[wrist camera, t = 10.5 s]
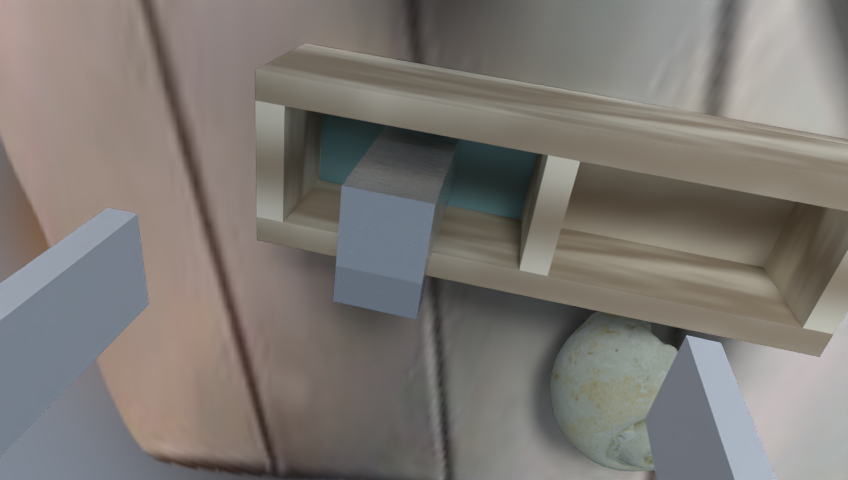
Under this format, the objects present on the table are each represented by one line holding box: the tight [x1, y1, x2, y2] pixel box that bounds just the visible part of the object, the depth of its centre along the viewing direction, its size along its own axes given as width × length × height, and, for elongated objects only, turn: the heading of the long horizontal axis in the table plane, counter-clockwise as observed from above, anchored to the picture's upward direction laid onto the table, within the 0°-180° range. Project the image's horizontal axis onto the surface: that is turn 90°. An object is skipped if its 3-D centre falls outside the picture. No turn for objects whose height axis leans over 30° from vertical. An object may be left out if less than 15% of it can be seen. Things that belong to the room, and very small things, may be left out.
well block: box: [255, 43, 848, 357], centre depth 32 cm, size 10×30×7 cm, turn 82°
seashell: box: [550, 311, 678, 471], centre depth 38 cm, size 13×8×10 cm
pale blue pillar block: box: [333, 125, 462, 319], centre depth 31 cm, size 6×4×11 cm, turn 172°
